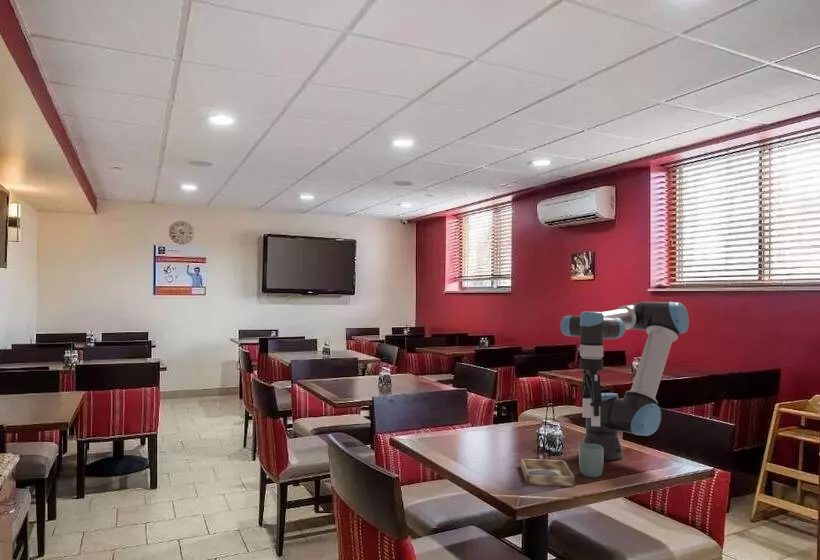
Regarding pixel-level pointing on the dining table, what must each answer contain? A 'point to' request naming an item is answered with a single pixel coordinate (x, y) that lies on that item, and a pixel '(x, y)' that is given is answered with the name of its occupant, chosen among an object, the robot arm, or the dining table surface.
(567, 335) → the robot arm
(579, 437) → the dining table surface
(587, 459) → the cup
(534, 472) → the pad
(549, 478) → the wooden tray
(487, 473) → the dining table surface
